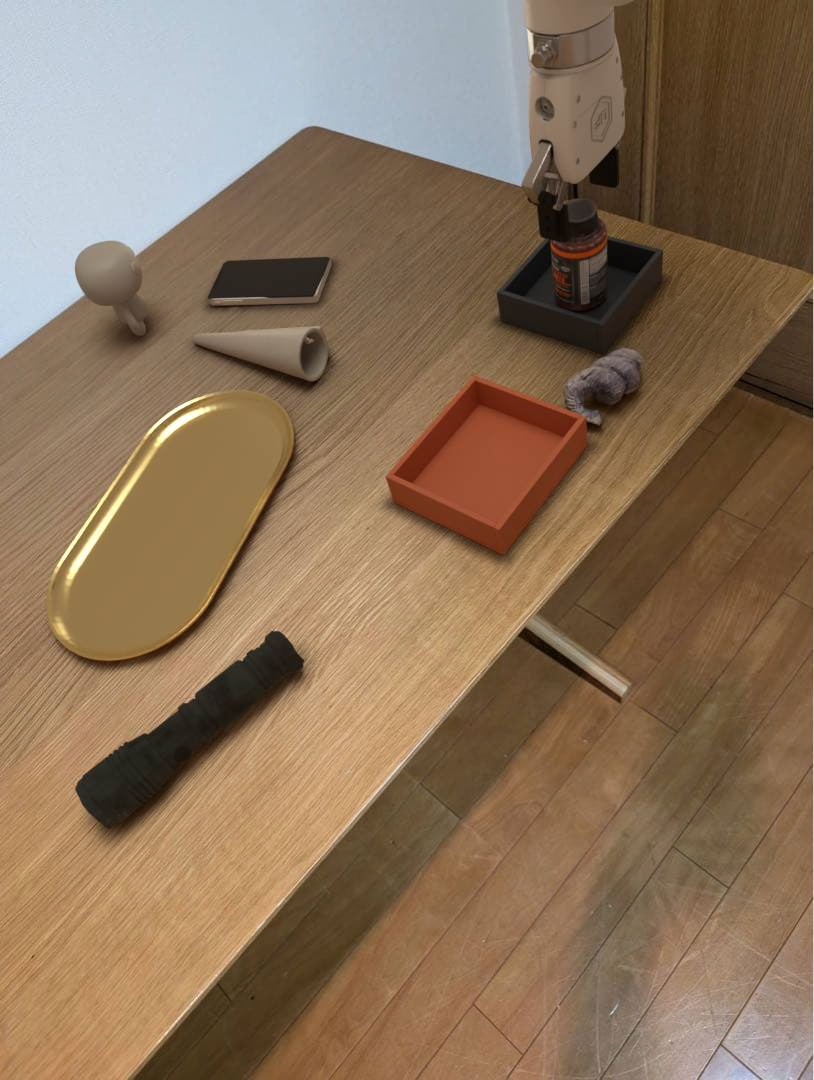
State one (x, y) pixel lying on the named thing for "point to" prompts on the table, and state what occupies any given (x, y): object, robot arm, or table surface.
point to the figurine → (113, 281)
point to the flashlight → (183, 732)
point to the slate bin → (595, 329)
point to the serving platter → (169, 526)
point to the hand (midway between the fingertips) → (580, 211)
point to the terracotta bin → (488, 462)
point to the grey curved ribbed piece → (604, 382)
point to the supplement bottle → (581, 259)
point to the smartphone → (270, 281)
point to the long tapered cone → (275, 348)
